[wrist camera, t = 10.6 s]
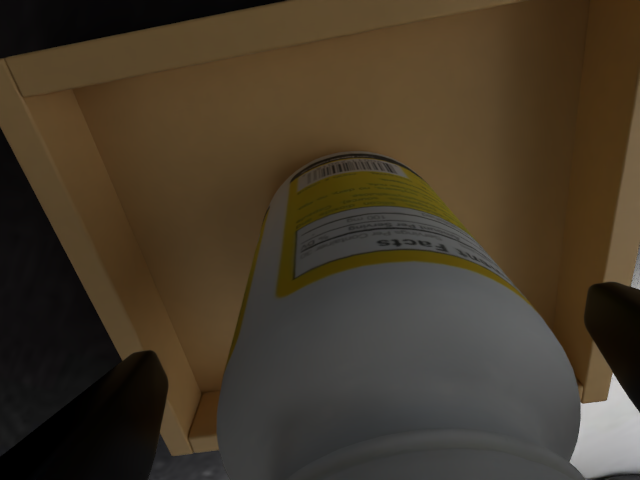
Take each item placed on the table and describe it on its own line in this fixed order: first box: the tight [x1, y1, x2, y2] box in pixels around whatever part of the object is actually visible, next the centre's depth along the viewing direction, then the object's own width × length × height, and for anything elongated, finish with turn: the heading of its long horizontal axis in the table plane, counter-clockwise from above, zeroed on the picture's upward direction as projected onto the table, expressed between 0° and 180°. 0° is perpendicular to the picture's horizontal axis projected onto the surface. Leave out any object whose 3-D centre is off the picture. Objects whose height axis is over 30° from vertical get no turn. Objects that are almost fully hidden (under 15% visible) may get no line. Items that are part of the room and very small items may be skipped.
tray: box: [0, 0, 640, 456], centre depth 12 cm, size 15×13×2 cm
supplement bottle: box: [217, 151, 585, 480], centre depth 8 cm, size 5×5×10 cm
